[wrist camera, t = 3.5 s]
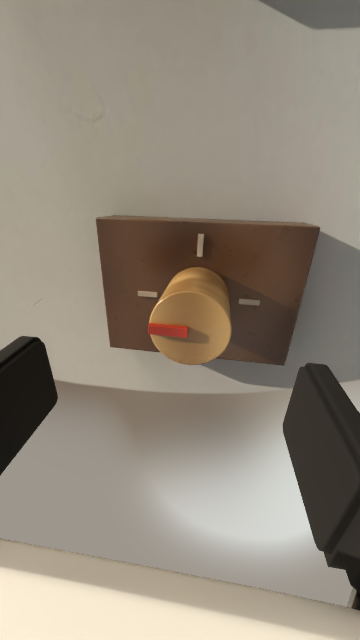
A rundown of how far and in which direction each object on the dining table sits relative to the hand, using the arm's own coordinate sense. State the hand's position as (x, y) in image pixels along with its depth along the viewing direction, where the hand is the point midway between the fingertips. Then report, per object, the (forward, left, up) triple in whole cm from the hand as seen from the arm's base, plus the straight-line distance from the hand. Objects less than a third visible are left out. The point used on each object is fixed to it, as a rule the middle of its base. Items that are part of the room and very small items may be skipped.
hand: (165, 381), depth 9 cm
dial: (0, 0, -9) cm, 9 cm away
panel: (0, 0, -12) cm, 12 cm away
